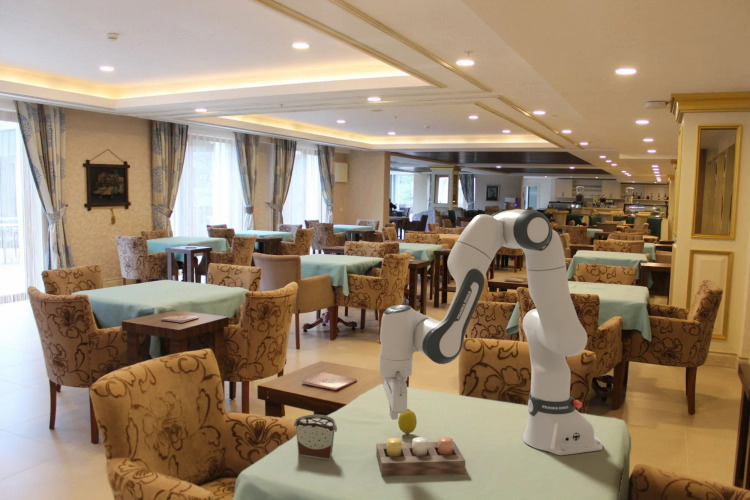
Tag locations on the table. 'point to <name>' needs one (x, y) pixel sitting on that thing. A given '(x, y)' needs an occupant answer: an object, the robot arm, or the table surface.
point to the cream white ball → (419, 446)
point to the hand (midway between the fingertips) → (393, 417)
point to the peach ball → (445, 446)
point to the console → (419, 461)
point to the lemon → (407, 421)
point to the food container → (315, 435)
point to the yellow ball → (394, 447)
